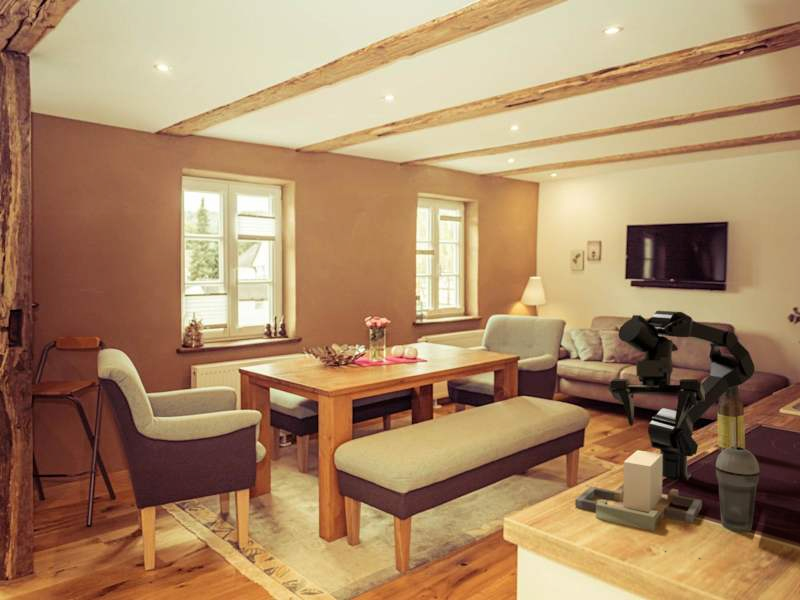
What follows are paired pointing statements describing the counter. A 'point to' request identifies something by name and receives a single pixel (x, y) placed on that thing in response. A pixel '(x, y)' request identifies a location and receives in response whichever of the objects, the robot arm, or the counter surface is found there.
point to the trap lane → (637, 516)
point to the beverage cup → (737, 486)
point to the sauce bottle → (730, 419)
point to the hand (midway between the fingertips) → (653, 426)
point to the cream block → (642, 480)
